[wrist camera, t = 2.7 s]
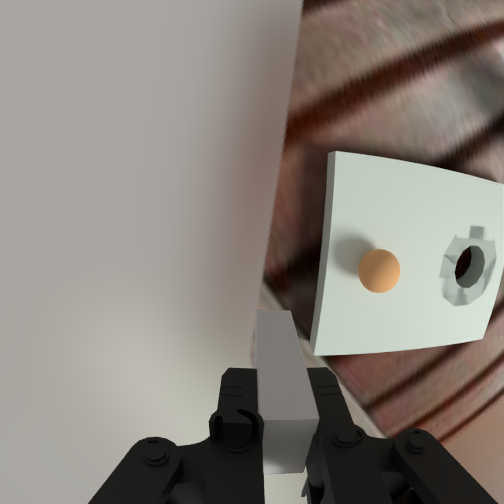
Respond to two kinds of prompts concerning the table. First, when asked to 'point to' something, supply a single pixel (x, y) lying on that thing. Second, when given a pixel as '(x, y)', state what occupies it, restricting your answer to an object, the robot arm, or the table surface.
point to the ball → (379, 271)
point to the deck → (406, 255)
